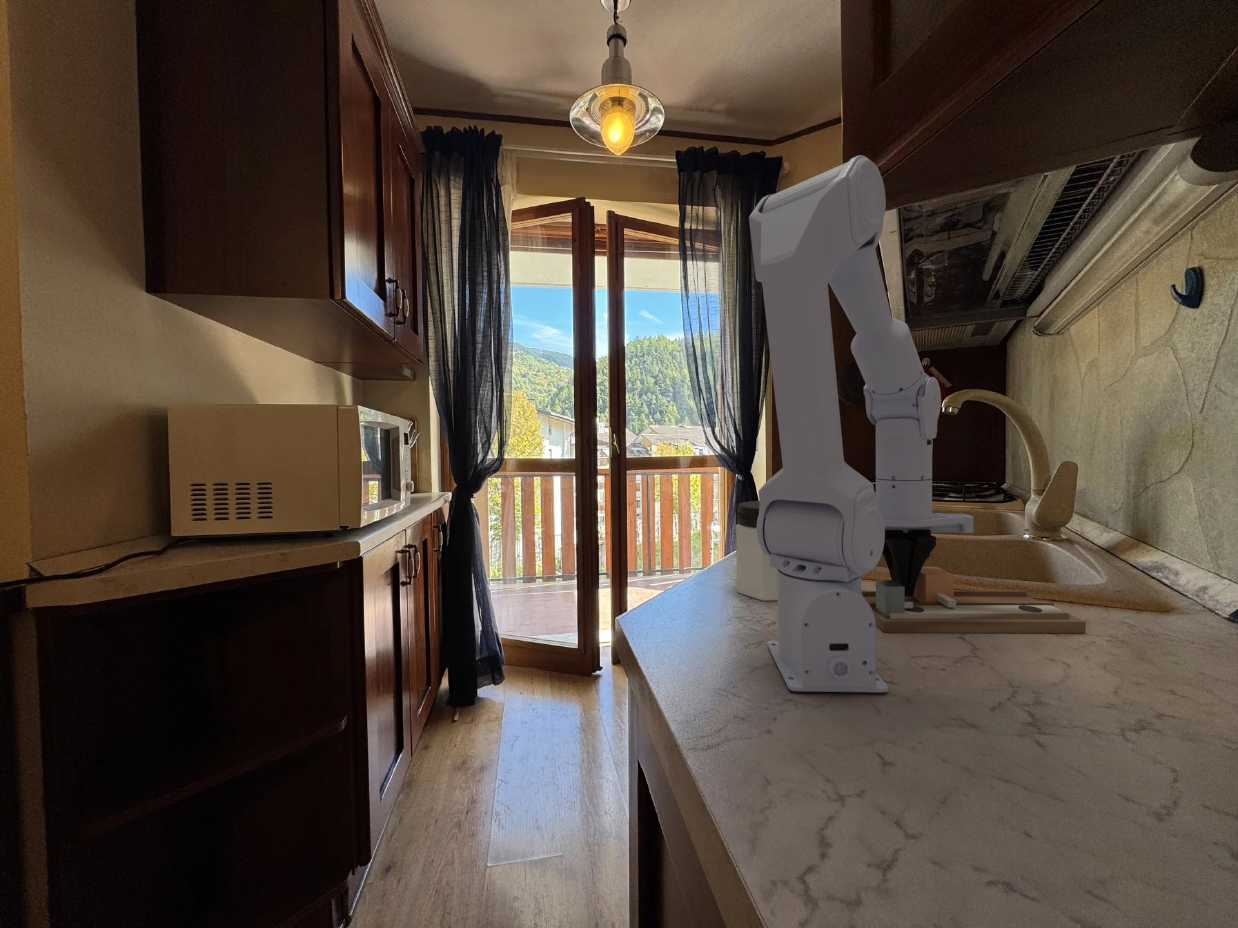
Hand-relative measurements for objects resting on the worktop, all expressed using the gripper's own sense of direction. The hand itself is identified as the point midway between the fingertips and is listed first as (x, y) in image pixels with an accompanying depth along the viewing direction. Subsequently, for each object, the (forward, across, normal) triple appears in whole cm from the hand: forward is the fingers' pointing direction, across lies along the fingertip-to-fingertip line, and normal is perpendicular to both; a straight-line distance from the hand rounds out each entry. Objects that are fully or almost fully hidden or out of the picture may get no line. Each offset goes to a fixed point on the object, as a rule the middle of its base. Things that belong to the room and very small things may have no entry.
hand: (903, 593), depth 60 cm
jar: (+2, +14, -8) cm, 16 cm away
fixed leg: (+1, +3, +4) cm, 5 cm away
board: (+2, -5, +2) cm, 6 cm away
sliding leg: (+1, -3, +1) cm, 3 cm away
